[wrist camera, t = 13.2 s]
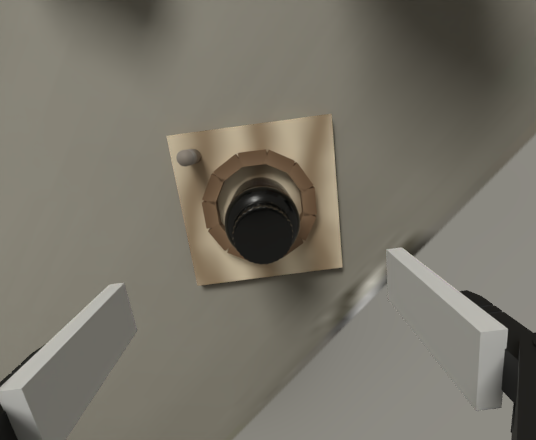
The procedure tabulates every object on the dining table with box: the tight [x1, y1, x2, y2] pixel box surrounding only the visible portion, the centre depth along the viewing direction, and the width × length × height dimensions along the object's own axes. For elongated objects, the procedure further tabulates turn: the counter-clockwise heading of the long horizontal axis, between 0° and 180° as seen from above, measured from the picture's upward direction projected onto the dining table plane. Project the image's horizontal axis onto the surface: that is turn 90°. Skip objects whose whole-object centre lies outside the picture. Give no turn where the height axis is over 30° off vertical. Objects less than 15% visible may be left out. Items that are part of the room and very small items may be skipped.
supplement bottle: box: [225, 177, 300, 265], centre depth 29 cm, size 7×7×12 cm
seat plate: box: [167, 114, 342, 286], centre depth 33 cm, size 18×18×5 cm
